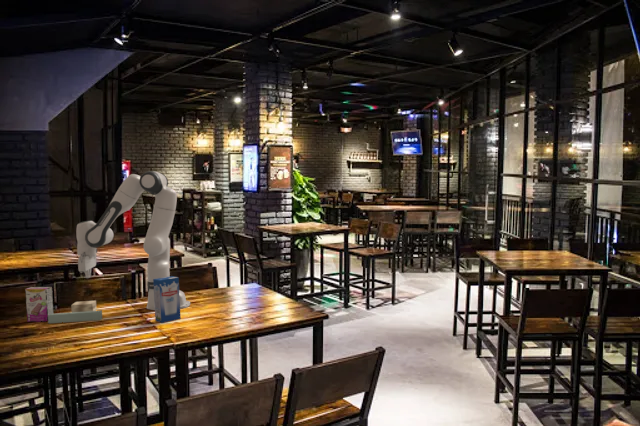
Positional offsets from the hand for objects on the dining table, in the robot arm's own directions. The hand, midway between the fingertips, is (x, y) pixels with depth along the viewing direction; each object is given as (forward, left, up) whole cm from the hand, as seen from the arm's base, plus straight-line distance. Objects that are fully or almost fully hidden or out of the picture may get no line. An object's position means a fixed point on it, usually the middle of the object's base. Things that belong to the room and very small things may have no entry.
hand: (88, 277), depth 284 cm
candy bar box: (+18, +19, -17) cm, 31 cm away
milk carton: (-45, +35, -17) cm, 60 cm away
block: (0, +10, -17) cm, 20 cm away
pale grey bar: (0, +24, -17) cm, 30 cm away
